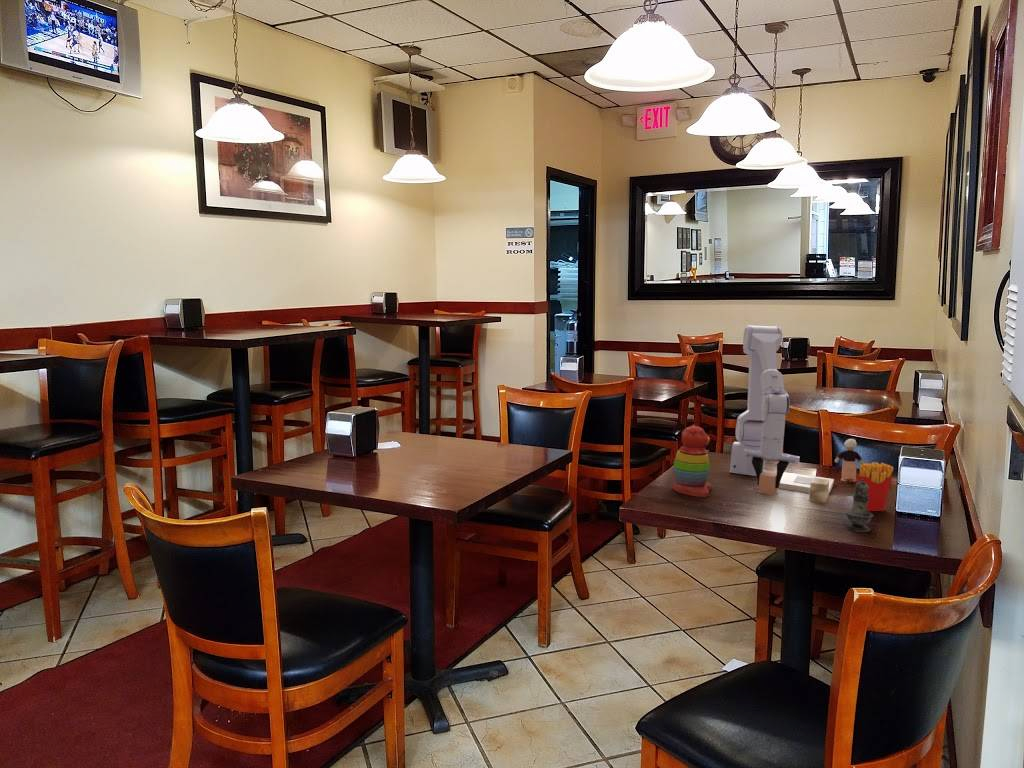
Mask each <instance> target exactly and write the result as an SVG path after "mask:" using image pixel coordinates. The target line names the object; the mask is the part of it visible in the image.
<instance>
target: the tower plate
mask: <svg viewBox="0 0 1024 768" xmlns="http://www.w3.org/2000/svg"><path fill="white" fill-rule="evenodd" d="M813 478H820V479H827V480H829V490H828V497H829V496H830V494H829V493H831V491H832V489H833V487H834V485H833V484H834V483H835V479H834V478H828V477H827V478H826V477H822V476H815V475H808V474H799V473H795V472H794V473H793V472H787V471H784V473H783V476H782V478H781V481H780V484H779V488H778V489H783V490H788V491H793V492H794V491H795V492H800V493H801V492H802V493H807V494H810V485H811V481H812V479H813Z"/></svg>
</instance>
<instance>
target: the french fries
mask: <svg viewBox="0 0 1024 768" xmlns="http://www.w3.org/2000/svg"><path fill="white" fill-rule="evenodd" d="M893 472H894V467H893V466H892V465H890V464H887V463H884V462H881V463H878V462H874V461H872V462H871V463H868V462H863V466H862V465H860V464H859V474H856V480H857V482H856V484H857V483H858V482H861V480H862V479H864V482H865V483H866V484H868V486H869V490H868V498H869V500H868V503H867V510H868V512H871V511H882V512H884V511H883V510H886V507H887V500H888V496H889V491H890V486H891V481H892V473H893Z"/></svg>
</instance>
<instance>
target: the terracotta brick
mask: <svg viewBox="0 0 1024 768" xmlns="http://www.w3.org/2000/svg"><path fill="white" fill-rule="evenodd" d="M776 478H777V471H773V470H766V469H764V470H763V472H762V473H761V474H760V479H759V485H758V492H757V493H759V494H766V495H772V496H774V495H775V494H776V492H777V491H778V488H775V484H776Z"/></svg>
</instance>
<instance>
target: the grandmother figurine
mask: <svg viewBox="0 0 1024 768" xmlns="http://www.w3.org/2000/svg"><path fill="white" fill-rule="evenodd" d="M857 445H858V444H857V441H856V439H855V438H848V439H846V440H845V442H844V447H845V449H846V450H843V451H841V452H840V453H838V454H837V455H836V458H835V459H834V463H836V464H837V463H839V461H840V460H843V461H842V465H841V466H842V467H841V479H840V481H841V480H842V481H848V480H849V481H848V482H850V481H853V482H855V481H857V461H858V464H859V466H860V465H862V466H863V463H864V461H863V458H862V456H861V455H860V454H859V453H858V452H857V451H854V450H856V448H857ZM856 460H857V461H856ZM842 481H841V482H842Z"/></svg>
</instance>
